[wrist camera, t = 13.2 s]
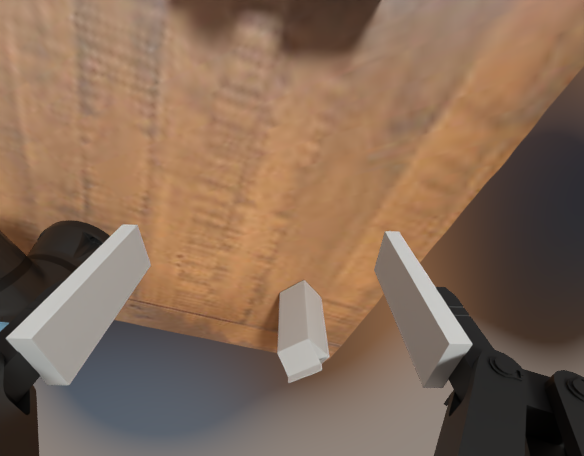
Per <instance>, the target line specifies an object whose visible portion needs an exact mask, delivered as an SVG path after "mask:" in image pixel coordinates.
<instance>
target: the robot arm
mask: <svg viewBox="0 0 584 456" xmlns="http://www.w3.org/2000/svg"><path fill="white" fill-rule="evenodd" d="M150 266H151V264H150V261H149V258H148V255H147V252H146V249H145V246H144V243H143V240H142V237H141V234H140V231H139V228H138V225H122V226H121V227H120V228H119V229H118V230H116V231H115V232H114V233H113V234H112V235H111V236H109V235H108V234H107V233H105V232H104V231H102V230H100V229H99V228H97V227H95V226H92V225H90V224H87V223H83V222H79V221H60V222H57V223H55V224H53V225H51V226H50V227H48V228H47V229H45V230H44V231H43V232H42V233H41V234H40V236H39V238H38V240H37V242H36V244H35V245H34V247H33V248H32V249H31V251H30V252H29V254H28V255H27V256H26V255H25V254H24V253H23V252H22V251H21V250H20V249H19V248H18V247H17V246H16V245H15V244H14V243H13V242H12V241H10V240H9V239H8V238H7V237H6V236H5V235H4V234H3V233H2V232H1V231H0V456H39V442H38V420H37V398H36V390H35V388H34V386H33V384H34V383H35V381H36V380H37V379H38V378H39V376H40V377H41V378H42V379H43V380H44V381H45V382H46V383H47V385H69V384H70V383H71V382H72V380H73V379H74V377H75V376H76V374H77V373H78V371H79V370H80V368H81V367H82V366H83V364H84V363H85V361H86V360H87V358H88V356H89V355H90V354H91V352H92V350H93V349H94V348H95V346H96V345H97V343H98V342H99V341H100V339H101V338H102V336H103V335H104V333H105V332H106V330H107V329H108V327H109V326H110V324H111V323H112V322H113V320H114V319H115V317H116V316H117V314H118V313H119V311H120V310H121V308H122V307H123V305H124V304H125V302H126V301H127V300H128V298H129V297H130V295H131V294H132V292H133V291H134V289H135V288H136V286H137V285H138V283H139V282H140V280H141V279H142V278H143V276H144V275H145V273H146V272H147V270H148V269H149V267H150ZM374 271H375V273H376V275H377V278H378V280H379V283H380V285H381V287H382V290H383V292H384V295H385V297H386V300H387V302H388V304H389V307H390V309H391V312H392V314H393V316H394V319H395V321H396V324H397V326H398V328H399V331H400V333H401V335H402V338H403V340H404V343H405V345H406V348H407V350H408V352H409V355H410V357H411V360H412V362H413V365H414V367H415V369H416V372H417V374H418V376H419V379H420V381H421V384H422V386H423V388H443V387H444V385H445V384H446V382H447V381H448V380H449V381H450V383H451V385H452V387H453V388H454V390H453V392H452V393H451V394H450V396H449V397H448V398H447V400H446V401H445V403H444V404H445V405H446V406H447V405H448V407H447V410H446V414H445V418H444V421H443V425H442V428H441V432H440V436H439V439H438V443H437V446H436V450H435V454H434V456H584V377H582V376H580V375H578V374H576V373H573V372H569V371H565V370H561V371H557V372H555V374H553V375H552V376H551V377H548V376H544V375H541V374H538V373H534V372H531V371H528V370H524V369H522V368H521V366H520V365H519V364H517V363H516V362H515V361H514V360H513V359H512V358H510V357H509V356H507V355H505V354H504V353H501V352H499V351H496V350H494V348H493V347H492V346H491V345H490V343H489V342H488V340H487V339H486V337H485V336H484V335H483V333H482V332H481V330H480V329H479V328H478V326H477V325H476V323H475V322H474V321H473V319H472V318H471V317H469V314H468V312H467V311H466V310H465V308H463V305H462V304H461V303H460V301H459V300H458V298H457V297H456V296H455V295H454V294H453V293H451V292H450V291H449V290H448V289H447V288H445V287H435V286H434V284H433V283H432V281H431V280H430V278H429V277H428V275H427V274H426V272H425V271H424V269H423V268H422V266H421V265H420V263H419V262H418V260H417V259H416V257H415V255H414V254H413V252H412V251H411V249H410V248H409V246H408V245H407V243H406V242H405V240H404V239H403V237H402V236H401V234H400V233H399V232H391V231H385V233H384V236H383V240H382V244H381V247H380V251H379V255H378V258H377V262H376V265H375V269H374Z"/></svg>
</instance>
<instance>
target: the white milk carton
mask: <svg viewBox="0 0 584 456" xmlns="http://www.w3.org/2000/svg"><path fill="white" fill-rule="evenodd" d="M277 353H278V355H279V358H280V360H281V361H282V364H283V366H284V369H285V371H286V373H287V375H288V383H291V382H293V381H296V380H298V379H301V378H303V377H306V376H309V375H311V374H314V373H316V372H319V371H321V370H322V363H323V362H324V361H325V360H326V359H328V358H329V350H328V343H327V336H326V328H325V321H324V314H323V307H322V300H321V297H320V296H319V295H318V294H317V293H316V292H315V290H314V289H313V288H312V287H311V286H310V285H309V284H308V283H307V282H306V281H305V280H303V281H301V282H299V283H297V284H295V285H294V286H292V287H290V288H288V289H286V290H284V291H282V292H281V293H280V300H279V326H278V351H277Z"/></svg>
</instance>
